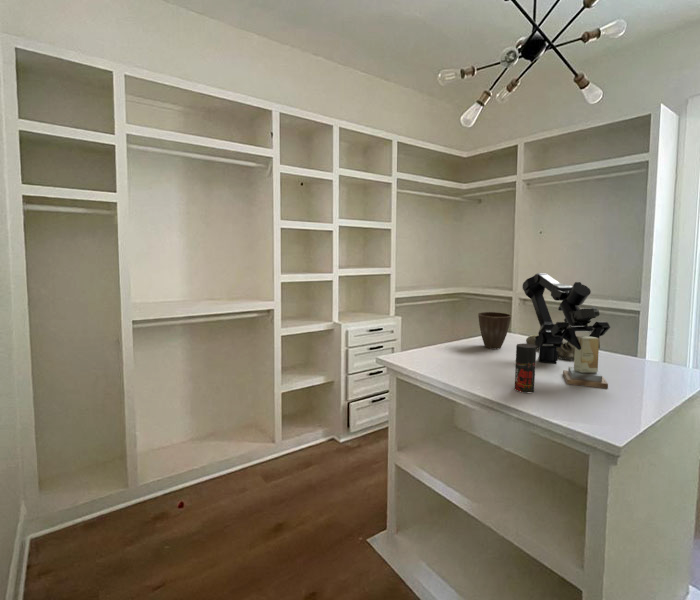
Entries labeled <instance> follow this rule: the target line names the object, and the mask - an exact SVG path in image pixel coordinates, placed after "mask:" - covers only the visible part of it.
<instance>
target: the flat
mask: <svg viewBox="0 0 700 600" xmlns="http://www.w3.org/2000/svg"><path fill="white" fill-rule="evenodd" d="M537 337H538V335H529V336H528V337H526V339H525V341H526V342H525V344H531V345H535V340H536V338H537ZM535 346H536V345H535ZM536 348H538V349H537V350H539V347H538V346H536ZM556 348H557V351H558V358H559V357H560V359H561V358H562V360H567V361H574V355H575V346H573V345H572V344H571V343H569V342H568V341H566V342H564V341H562V345H561V348H559V347H556Z"/></svg>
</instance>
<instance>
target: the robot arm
mask: <svg viewBox="0 0 700 600" xmlns="http://www.w3.org/2000/svg"><path fill="white" fill-rule="evenodd" d="M522 290H523V292H524V294H525V296H526V297H528V298H529V299H530V300H531V303H532V305H533V308H534V311H535V314H536V317H537V320H538V324H539V326H540V328H539V330H538V335H537V336H538V337H537V338H536V340H535V345H536V346H538V347H539V349H538V357H537V359H538V362H540V363H550V364H557V362H558V358H559V357H558V351H557V348H556V347H559V348H561V345H562V342H564V340H565V341H566V342H569V343H571V344H572V345H573V346H575V347H576V348H577V349H578V350H580V349H581V346H580V343H579V341H578V339H577V337H576V336H577V335H576V333H578V332H579V333H580V332H586V333H587V332H588V334H589V335H588V336H592V337H596V338H599V339H600V337H602V336H604V335H605V334H606V333H607V332H608V331H609V330H610V329H611V326H610V324H609V322H608V321H595V322H594V324H593V325H589V324H590V323H591V322H592V321H591V320H592V319H595V318H596V317H599V316H600V311H599V309H598V307H591V308H580V306H582V305H584V303H585V301H586V300H587V299H588V297H590V295H591V292H592V291H591V289H590V287H588V286H587V285H584V284H583V283H582V282H580V281H575V282H574V283H573V285H570V284H565V283H561V282H559V281H558V280H556V279H555V278H553V277H552V276H550V275H549V273H543V272H542V273H541V272H539V273H536V274H534V275H533V276H531V277H529V278H527V279H526V280H525V281H524V282H523V283H522ZM545 290H547V291H548V292H550V296H551V298H552V299H553V300H554V301H560V303H559V306H558V309H557V310H558V311H560V312H561V311H562V314H563V315H564V319H563V321H556V322H555V323H553V320H552V317H551V313H550V311H549V309H548V306H547V303H546V300H545V298H544V292H545ZM600 343H601V342H600V340H599V349H600V348H601V345H600Z"/></svg>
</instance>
